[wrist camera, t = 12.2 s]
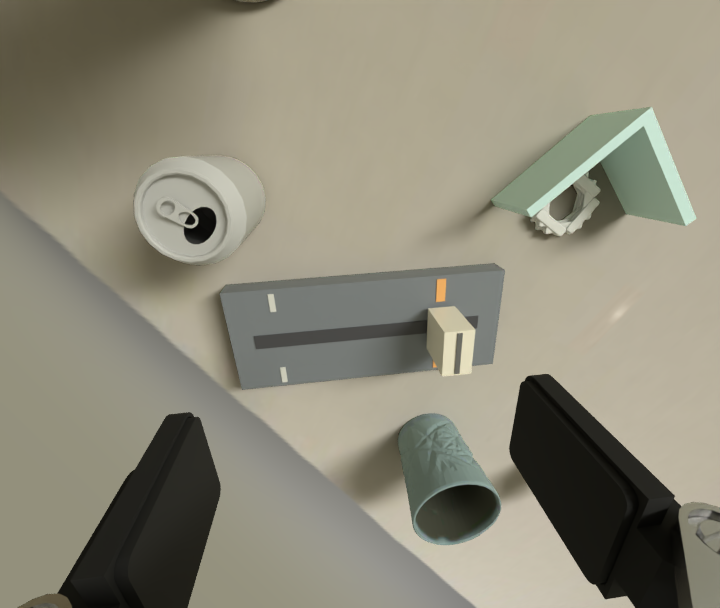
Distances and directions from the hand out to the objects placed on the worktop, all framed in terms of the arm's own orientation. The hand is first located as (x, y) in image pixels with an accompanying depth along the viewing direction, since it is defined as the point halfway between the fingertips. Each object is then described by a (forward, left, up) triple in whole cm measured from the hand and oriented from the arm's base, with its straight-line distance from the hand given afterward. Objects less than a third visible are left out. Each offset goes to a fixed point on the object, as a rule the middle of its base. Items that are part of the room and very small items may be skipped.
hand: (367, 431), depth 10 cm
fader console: (+11, +3, -28) cm, 31 cm away
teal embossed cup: (+30, +11, -28) cm, 43 cm away
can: (-4, -10, -28) cm, 30 cm away
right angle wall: (-1, +25, -29) cm, 39 cm away
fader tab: (+11, +11, -25) cm, 30 cm away
